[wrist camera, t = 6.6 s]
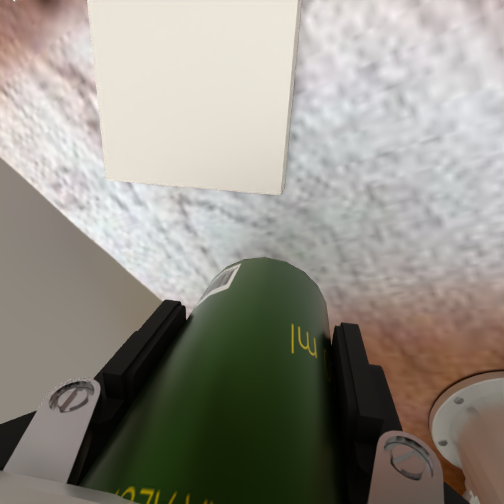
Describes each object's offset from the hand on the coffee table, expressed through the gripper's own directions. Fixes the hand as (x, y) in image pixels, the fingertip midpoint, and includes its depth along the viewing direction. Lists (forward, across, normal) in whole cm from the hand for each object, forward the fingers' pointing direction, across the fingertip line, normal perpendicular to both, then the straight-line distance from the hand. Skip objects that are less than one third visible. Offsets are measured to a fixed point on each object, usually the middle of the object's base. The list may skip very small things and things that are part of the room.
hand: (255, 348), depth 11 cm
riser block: (+18, +7, -10) cm, 22 cm away
